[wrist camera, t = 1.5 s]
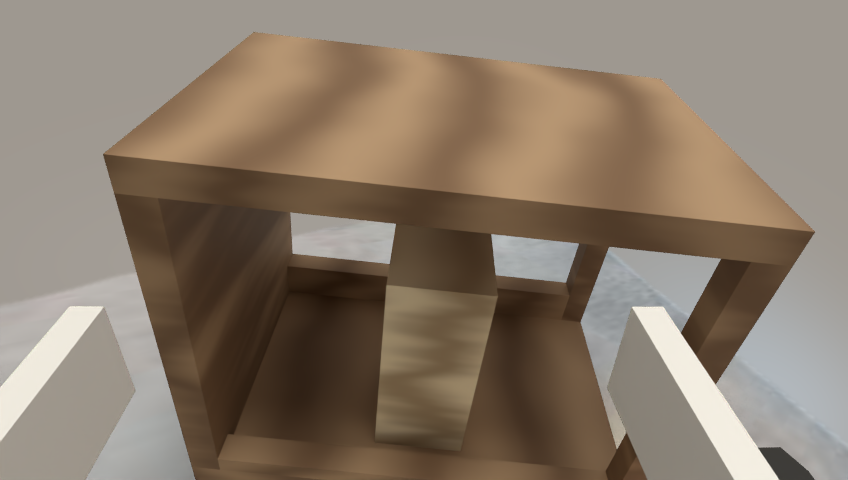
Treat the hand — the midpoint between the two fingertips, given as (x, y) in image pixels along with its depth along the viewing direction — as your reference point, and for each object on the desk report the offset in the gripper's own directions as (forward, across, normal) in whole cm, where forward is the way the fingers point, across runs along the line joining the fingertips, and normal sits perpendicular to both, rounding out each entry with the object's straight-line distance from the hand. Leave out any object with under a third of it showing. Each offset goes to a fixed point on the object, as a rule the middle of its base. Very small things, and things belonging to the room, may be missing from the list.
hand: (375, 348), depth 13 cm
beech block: (+12, +2, -17) cm, 21 cm away
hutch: (+16, +2, -24) cm, 29 cm away
